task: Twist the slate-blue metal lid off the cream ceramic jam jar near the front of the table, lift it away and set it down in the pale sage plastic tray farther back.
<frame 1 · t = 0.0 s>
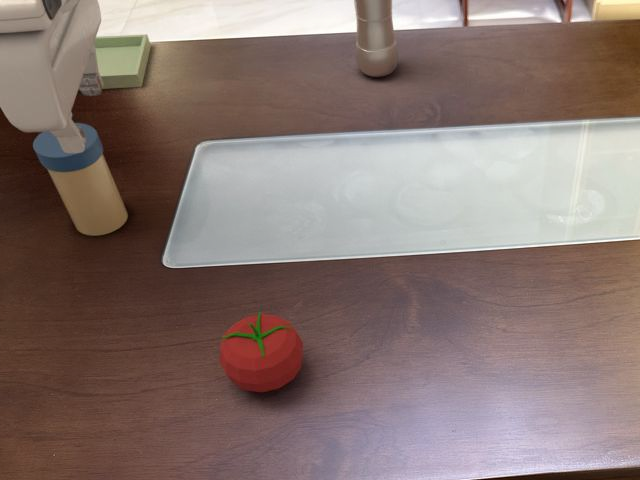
hand: (85, 119, 66), 20 cm above the table, tool pointing down, fingers open, 8 cm apart
tray: (97, 68, 109), on the table
jar lid: (66, 142, 79), point 11 cm above the table, screwed on, not yet turned
tomato: (268, 376, 73), on the table
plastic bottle: (378, 72, 111), on the table
jam jar: (101, 219, 87), on the table
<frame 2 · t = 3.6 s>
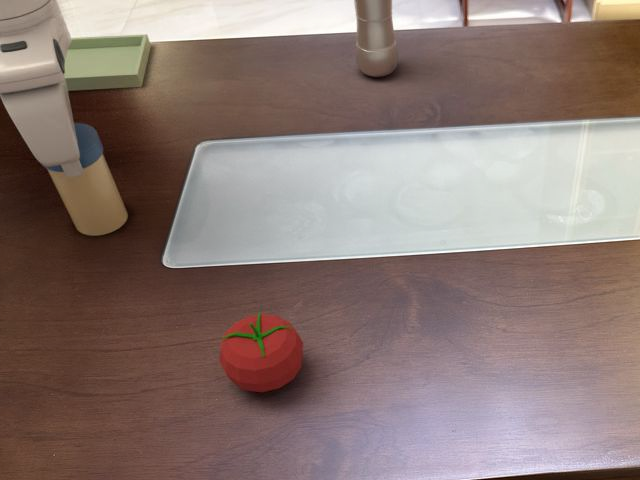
hand: (72, 153, 80), 9 cm above the table, tool pointing down, fingers closed on jar lid, 6 cm apart
jar lid: (66, 142, 79), point 11 cm above the table, screwed on, not yet turned, touching gripper
everything else where it was.
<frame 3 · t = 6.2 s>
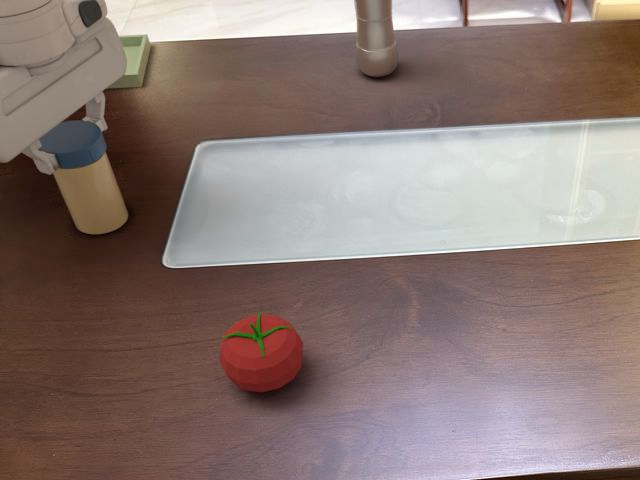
hand: (75, 150, 80), 9 cm above the table, tool pointing down, fingers closed on jar lid, 6 cm apart
jar lid: (70, 139, 79), point 11 cm above the table, off its thread, touching gripper, jam jar
jam jar: (101, 218, 87), on the table, touching jar lid
everything else where it was.
when the fingers open (1 cm above the table, at t = 17.0 s): jar lid stays where it is, resting on tray.
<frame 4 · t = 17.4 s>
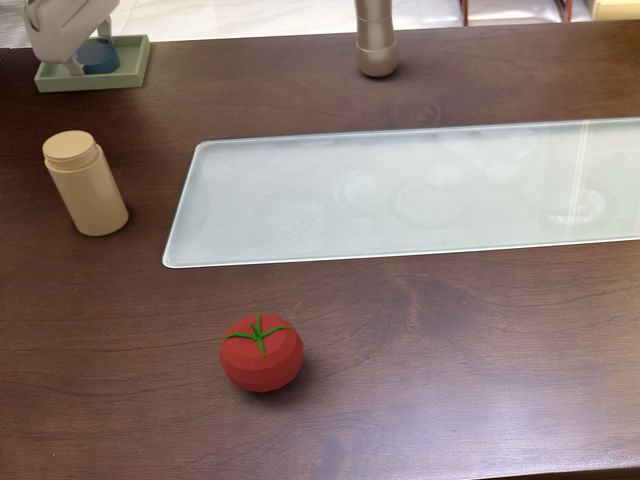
hand: (94, 62, 109), 1 cm above the table, tool pointing down, fingers open, 8 cm apart
jar lid: (94, 56, 108), point 2 cm above the table, off its thread, touching tray
jam jar: (102, 219, 87), on the table
everything else where it was.
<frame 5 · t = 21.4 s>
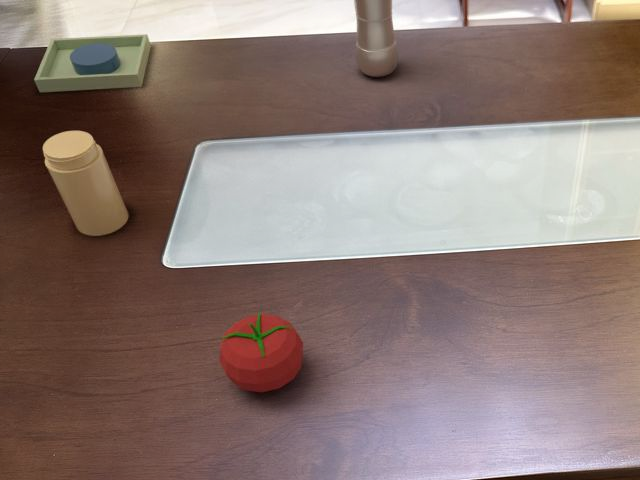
nothing on the table moved.
at the end: jar lid inside the target area on the tray (0.3 cm from its centre), point 2.0 cm above the tray's base; jar lid point 2.0 cm above the table; the gripper is holding nothing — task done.
